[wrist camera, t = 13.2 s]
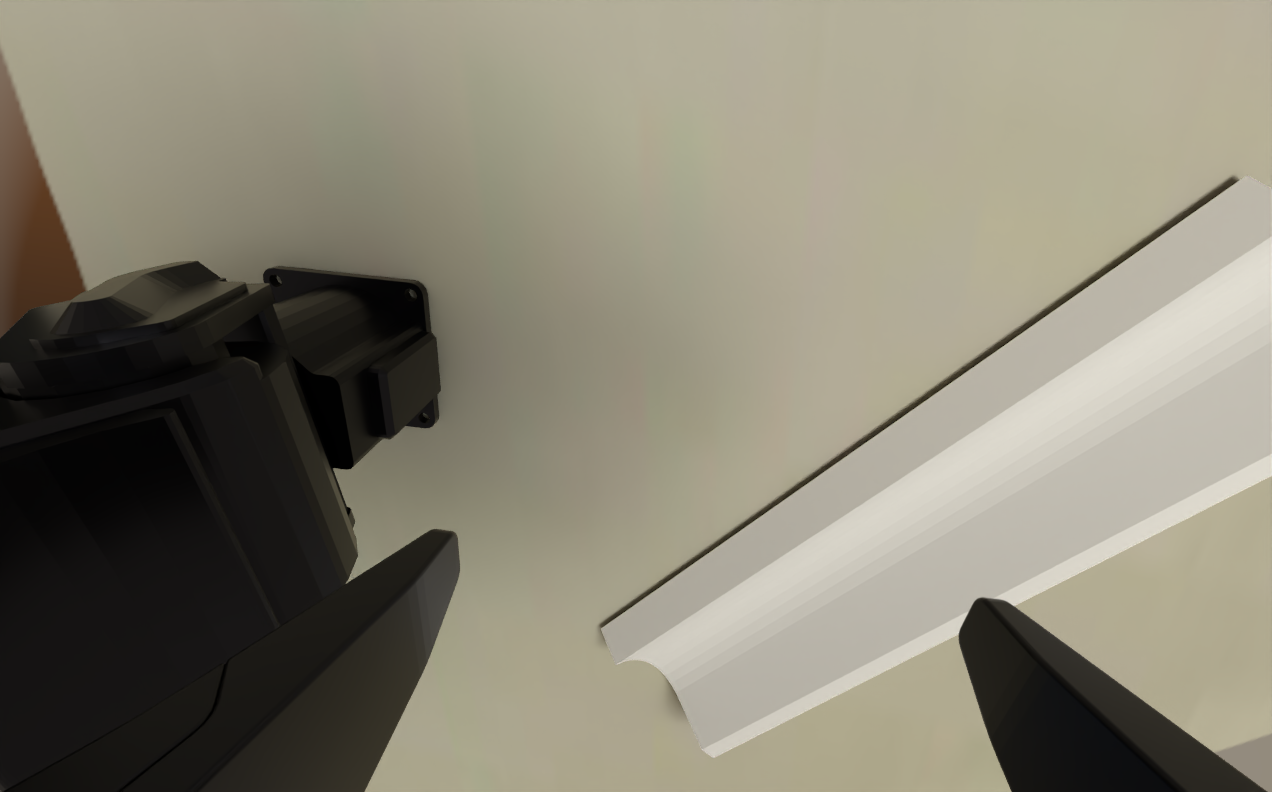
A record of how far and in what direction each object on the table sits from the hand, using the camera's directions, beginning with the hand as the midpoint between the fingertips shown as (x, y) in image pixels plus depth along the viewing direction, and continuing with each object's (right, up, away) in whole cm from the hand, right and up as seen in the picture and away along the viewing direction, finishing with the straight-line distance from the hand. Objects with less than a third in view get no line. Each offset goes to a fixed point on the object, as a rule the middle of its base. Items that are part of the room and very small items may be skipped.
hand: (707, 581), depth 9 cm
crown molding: (+12, -3, +16) cm, 20 cm away
